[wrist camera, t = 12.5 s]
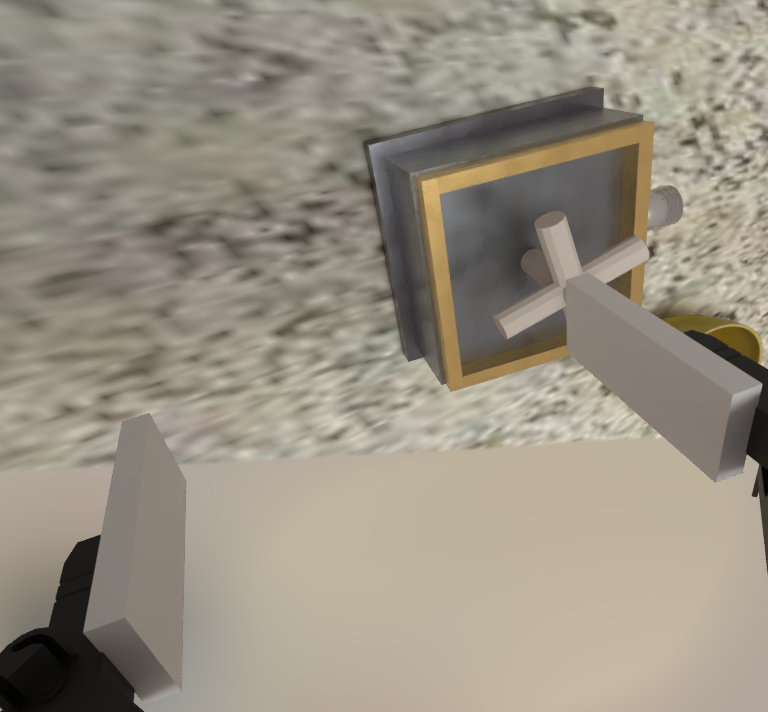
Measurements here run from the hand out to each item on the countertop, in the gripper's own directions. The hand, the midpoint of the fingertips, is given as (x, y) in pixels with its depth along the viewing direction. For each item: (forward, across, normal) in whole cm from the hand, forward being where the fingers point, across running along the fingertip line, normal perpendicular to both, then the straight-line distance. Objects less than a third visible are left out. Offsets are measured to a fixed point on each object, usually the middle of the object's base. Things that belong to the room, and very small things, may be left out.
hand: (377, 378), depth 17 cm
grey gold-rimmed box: (+27, +18, -8) cm, 33 cm away
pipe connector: (+19, +15, -8) cm, 26 cm away
